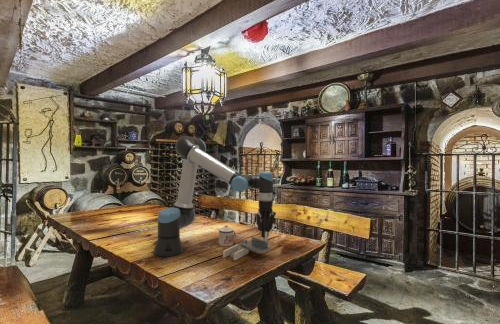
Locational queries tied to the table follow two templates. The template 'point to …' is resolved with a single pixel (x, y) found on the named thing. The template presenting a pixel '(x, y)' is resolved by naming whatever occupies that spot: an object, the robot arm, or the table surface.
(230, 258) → the dowel
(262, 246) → the cover
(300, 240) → the table surface
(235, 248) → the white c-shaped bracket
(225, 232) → the teacup with lid
